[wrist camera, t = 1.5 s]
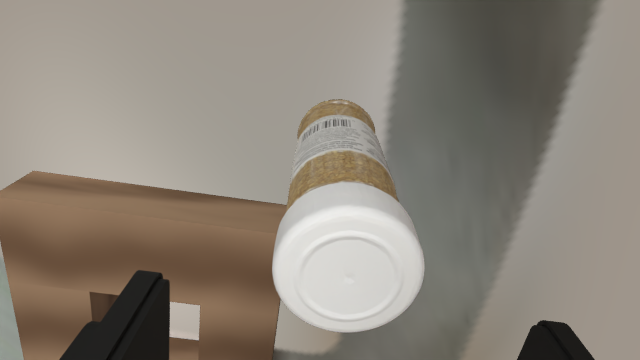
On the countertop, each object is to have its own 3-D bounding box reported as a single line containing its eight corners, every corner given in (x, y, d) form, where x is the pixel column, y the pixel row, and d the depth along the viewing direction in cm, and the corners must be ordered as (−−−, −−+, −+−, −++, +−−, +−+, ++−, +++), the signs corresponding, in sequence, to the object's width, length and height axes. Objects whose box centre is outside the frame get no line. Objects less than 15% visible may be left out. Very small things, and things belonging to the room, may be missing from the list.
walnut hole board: (33, 170, 25) (-9, 196, 22) (293, 206, 26) (288, 235, 23) (64, 379, 33) (36, 420, 30) (266, 401, 34) (260, 444, 30)
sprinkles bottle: (300, 172, 25) (276, 341, 13) (295, 97, 23) (261, 212, 11) (375, 169, 25) (423, 338, 13) (377, 94, 23) (433, 207, 11)
